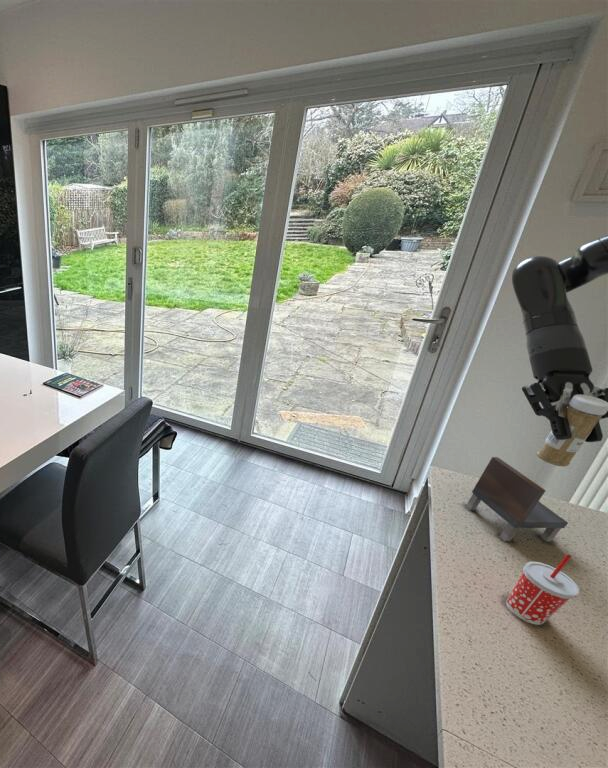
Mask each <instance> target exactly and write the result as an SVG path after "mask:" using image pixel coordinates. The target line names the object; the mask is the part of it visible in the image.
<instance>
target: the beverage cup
mask: <svg viewBox="0 0 608 768" xmlns="http://www.w3.org/2000/svg"><path fill="white" fill-rule="evenodd" d="M571 558H572V555H571V554H566V555H565V556H564V558H563V559H562V560H561V562H560V563H559V564H558V565H557V566H556V567H553V566H551V565H549V564H546V563H543V562H540V561H528V562H526V563H525V564H524V566H523V569H522V574H521V575H520V577H519V578H518V580H517V582H516V584H515V585H514V587H513V589H512V590H511V592H510V594H509V595H508V597H507V599H506V601H505V604H506V606H507V608H508V610H510V611H511V613H512V614H513V615H514V616H516V617H518V618H519V619H520V620H522V621H524V622H526V623H528V624H532V625H537V626H541V625H543V624H545V623H546V622H547V621H548V620H549V619H550V618H551V617H552V616H553V615H554V614H556V612H557V611H559V609H561V608H562V606H564V605H565V604H566V603H567V602H568V601H569V600H570V599H574V598H575V597H576V596H578V595H579V594H580V588H579V586H578V584H577V582H575V581H574V580H573V579H572V577H570V576H569V575H567V574H565V573H564V572H562V569H563V568H564V567H565V566H566V564H567V563H568V562H569V561H570V560H571Z"/></svg>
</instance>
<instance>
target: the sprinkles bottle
mask: <svg viewBox="0 0 608 768" xmlns="http://www.w3.org/2000/svg"><path fill="white" fill-rule="evenodd" d="M607 411H608V402H606V401H604V400H602V399H599V398H596V397H592V396H588V395H581V394H578V395H574V396H573V398H572V399H571V400H570V402H569V406H568V407H567V411H566V417H564V418H568V422H569V426H570V430H571V434H572V438H570V439H565V440H557V439H556V438H555V436H554V435H553V433H552V430H551V431H550V432H549V434H548V435H547V436H546V438H545V442H544V443H543V444H542V445H541V447H540V448H539V450H537V452H536V457H538V458H539V459H540V460H542V461H543V462H544V463H547V464H550V465H553V466H557V467H568V466H569V465H570V463H571V461H572V460H573V458H574V457H575V456H576V454H577V452H579V450H580V448H581V447H582V446H583V444H584V443H585V442H586V441H585V440H586V438H587V437H588V436H589V434H590V433H591V431H592V429H593V428H594V426H595V425H596V424H597V422H598V421H599V419H600V418H601V417H602V416H603V415H604V414H606V412H607ZM599 422H600V421H599Z"/></svg>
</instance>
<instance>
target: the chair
mask: <svg viewBox="0 0 608 768" xmlns="http://www.w3.org/2000/svg"><path fill="white" fill-rule="evenodd" d="M471 493H472V494H471V496H470V498H469V499H468V501H467V502H466V504H465V507H466V508H467V509H468V510H469V511H476V509H477V508H478V506H479V504H480V503H481V502H482V503H484V504H485V505H486V506H487V507H489V508H490V510H492V511H494V513H496V515H498V516H500V517H501V518H502V519H503V520H504V521H505V522H507V525H506V526H505V527H504V529H503V530H502V532H501V533H500V535H499V538H501V539H502V540H503V541H504V542H511V541H512V539H514V537H515V535H516V534H517V532H518V531H519V529H544V530H543V532H542V534H541V535H540V536H539V537H540V538H541V539H542V541H545V542H552V541H553V540H554V539H555V537H556V536H557V535H558V533H560V531H561V529H565V527H566V526H567V525H568V524H569V522H568V521H567V520H565V519H563V518H562V516H560V515H558V514H557V513H556V512H554V511H553V510H551V509H550V508H548V507H547V506H546V505H545V504H543V502H540V500H541V499H542V497H543V496H544V494H545V493H546V489H545V488H543V487H541V486H540V485H539V484H538V483H536V482H534V481H533V480H532V479H530V478H529V477H527V476H526V475H524V474H523V473H521V472H520V471H518V470H517V469H516V468H514V467H513V466H511V465H510V464H508V463H507V462H506V461H504V460H503V459H502V458H500V457H498V456H492V457H491V459H490V460H489V462H488V463H487V465H486V466H485V469H484V471H483V472H482V474H481V475H480V477H479V479H478V481H477V482H476V483H475V486H474V487H473V489H472V491H471Z"/></svg>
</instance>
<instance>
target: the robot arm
mask: <svg viewBox="0 0 608 768" xmlns="http://www.w3.org/2000/svg"><path fill="white" fill-rule="evenodd" d="M606 275H608V234H607V235H604V236H601V237H599V238H596V239H593V240H590V241H588V242H586V243H584V244H582V245H580V246H579V247H578V248H577V250H576V251H575V253H574V254H573V255H572V256H570V257H568V258H565V259H564V260H561V261H559V262H558V260H556V259H554V258H552V257H549V256H543V255H536V256H531V257H528V258H526V259H523V260H522V261H520V262H519V263H518V264H517V265H516V266H515V267H514V269H513V270H512V272H511V276H510V282H511V285H512V288H513V292H514V294H515V297H516V300H517V303H518V305H519V308H520V311H521V312H520V313H521V319H522V321H521V322H522V325H523V329H524V333H525V334H524V335H525V338H526V339H525V340H526V344H525V345H526V350H527V355H528V359H529V364H530V367H531V372H532V377H533V378H534V380H537V382H533V383H530V384H527V385H523V386H522V387H521V391H522V392H523V394H524V396H525V398H526V399H527V401H528V403H529V405H530V407H531V409H532V410H533V412H534V414H535V415H536V416H537V417H541V416H542V417H544V418H546V419H547V420H548V421H549V425H550V428H551V431H552V433H553V435H554V436H555V438H556V439H557V440H565V439H570V438H572V434H571V430H570V426H569V422H568V418H564V417H566V411H567V408H568V406H569V402H570V400H571V399H572V398H573V396H574V395H578V394H581V395H588V396H592V397H596V398H599V399H602V400H604V401H606V402H608V387H606V388H601V387H597V386H595V385H594V383H593V382H592V380H591V379H590V375H591V374H592V373H593V366H592V363H591V359H590V355H589V352H588V348H587V345H586V342H585V339H584V335H583V333H582V332H581V330H580V327H579V324H578V320H577V317H576V313H575V310H574V308H573V305H572V304H571V303H570V301H569V299H568V293H570V292H572V291H574V290H576V289H578V288H581V287H582V286H584V285H587V284H589V283H591V282H593V281H595V280H597V279H598V278H601V277H603V276H606ZM607 418H608V411H607V412H606V414H604V415H603V416H602V417H601V418H600V419H599V421H598V422H597V424H596V425H595V426H594V428H593V429H592V431H591V433H590V434H589V436H588V437H587V438H586V440H585V441H584V442H586V443H597V442H601V441H603V438H604V437H603V436H604V435H603V431H602V427H601V423H600V421H601V420H604V419H607Z"/></svg>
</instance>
